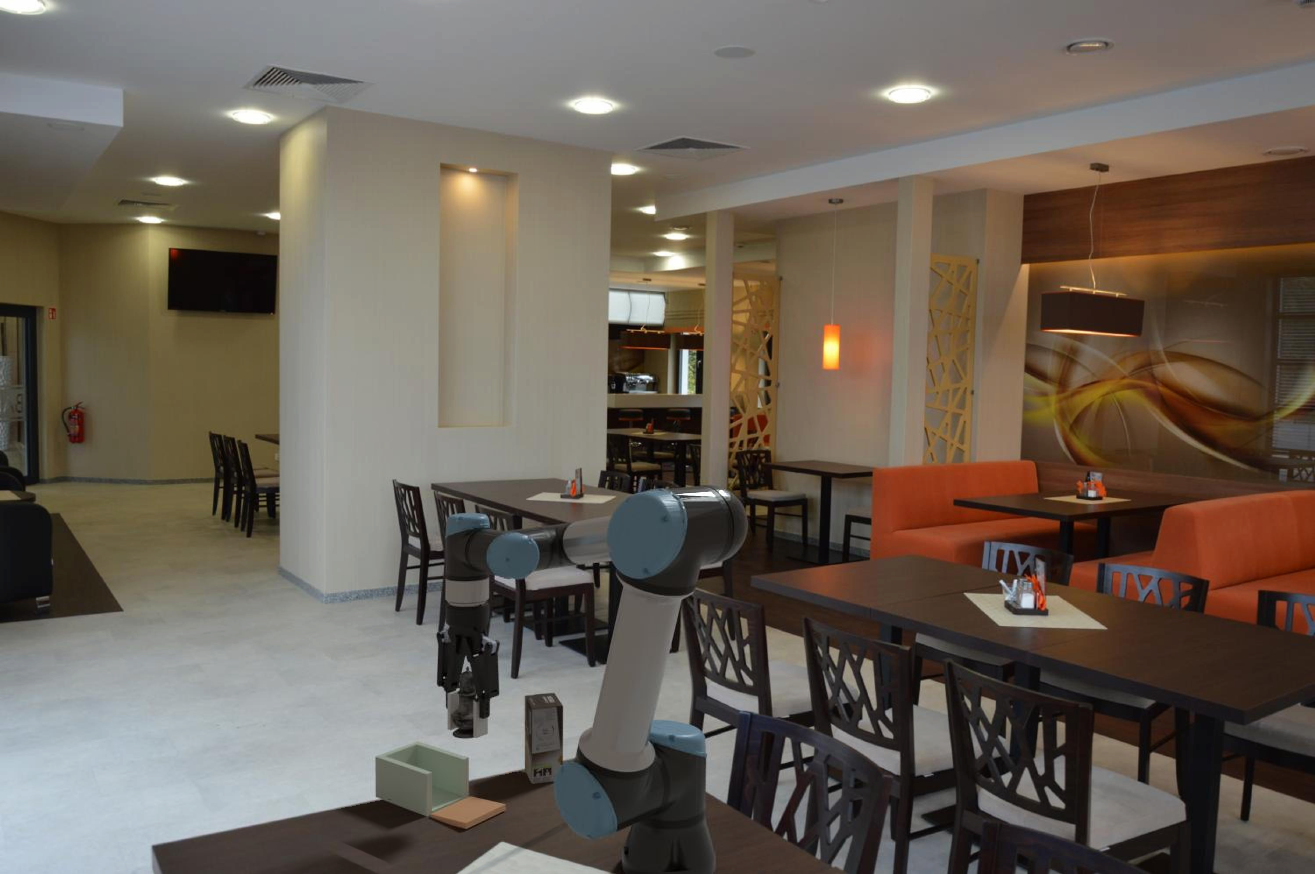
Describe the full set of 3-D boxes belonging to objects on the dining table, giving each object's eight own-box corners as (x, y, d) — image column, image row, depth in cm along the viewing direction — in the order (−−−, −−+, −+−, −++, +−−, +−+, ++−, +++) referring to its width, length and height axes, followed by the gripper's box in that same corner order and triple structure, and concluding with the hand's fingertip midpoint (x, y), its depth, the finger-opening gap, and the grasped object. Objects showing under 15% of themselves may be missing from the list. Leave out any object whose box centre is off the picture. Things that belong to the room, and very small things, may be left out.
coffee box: (564, 787, 192) (564, 705, 191) (531, 791, 190) (531, 708, 189) (554, 770, 201) (554, 691, 200) (523, 773, 199) (523, 694, 198)
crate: (468, 805, 183) (468, 757, 183) (426, 824, 175) (426, 774, 175) (417, 787, 191) (417, 741, 191) (375, 804, 183) (375, 756, 183)
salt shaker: (476, 740, 172) (476, 672, 171) (445, 737, 173) (445, 669, 173) (489, 729, 178) (489, 662, 177) (458, 726, 179) (458, 660, 178)
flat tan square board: (470, 801, 183) (506, 809, 177) (430, 819, 175) (466, 828, 169) (470, 796, 183) (505, 804, 177) (430, 813, 175) (465, 823, 169)
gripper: (521, 605, 172) (521, 736, 173) (446, 591, 183) (446, 715, 184) (490, 612, 166) (490, 749, 167) (414, 598, 177) (415, 726, 178)
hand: (467, 731), depth 175 cm, fingers closed on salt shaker, 6 cm apart
